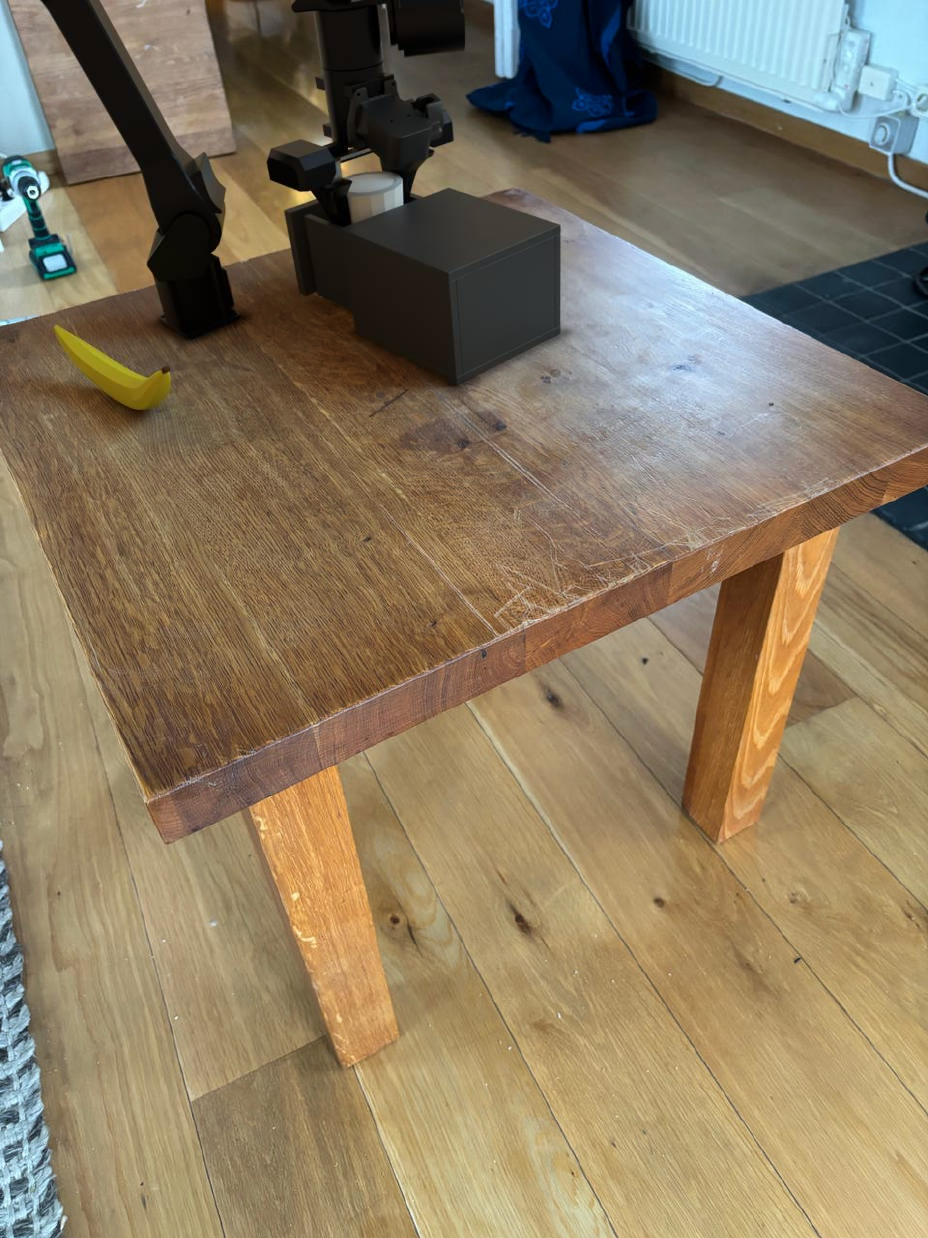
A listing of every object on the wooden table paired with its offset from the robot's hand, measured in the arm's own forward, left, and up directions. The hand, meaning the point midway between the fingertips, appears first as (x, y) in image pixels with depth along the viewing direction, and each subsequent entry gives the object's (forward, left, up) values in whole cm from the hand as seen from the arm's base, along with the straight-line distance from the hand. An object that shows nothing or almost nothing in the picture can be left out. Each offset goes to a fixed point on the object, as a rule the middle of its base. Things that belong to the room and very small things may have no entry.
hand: (374, 234), depth 99 cm
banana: (-29, +1, -7) cm, 30 cm away
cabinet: (0, -12, -7) cm, 14 cm away
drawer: (0, +1, -6) cm, 6 cm away
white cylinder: (0, 0, -2) cm, 2 cm away
